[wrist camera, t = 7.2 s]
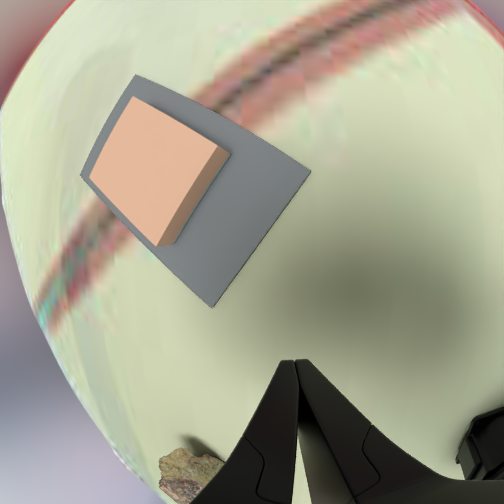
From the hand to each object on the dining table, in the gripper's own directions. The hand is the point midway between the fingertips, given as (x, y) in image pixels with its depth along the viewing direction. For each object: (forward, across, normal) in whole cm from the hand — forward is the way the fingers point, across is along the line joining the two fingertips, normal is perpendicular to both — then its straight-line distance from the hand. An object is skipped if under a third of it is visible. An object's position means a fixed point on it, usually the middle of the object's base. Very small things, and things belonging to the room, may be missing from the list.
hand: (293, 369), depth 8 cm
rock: (+8, +6, +25) cm, 27 cm away
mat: (+15, +9, -6) cm, 18 cm away
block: (+12, +6, -4) cm, 14 cm away
